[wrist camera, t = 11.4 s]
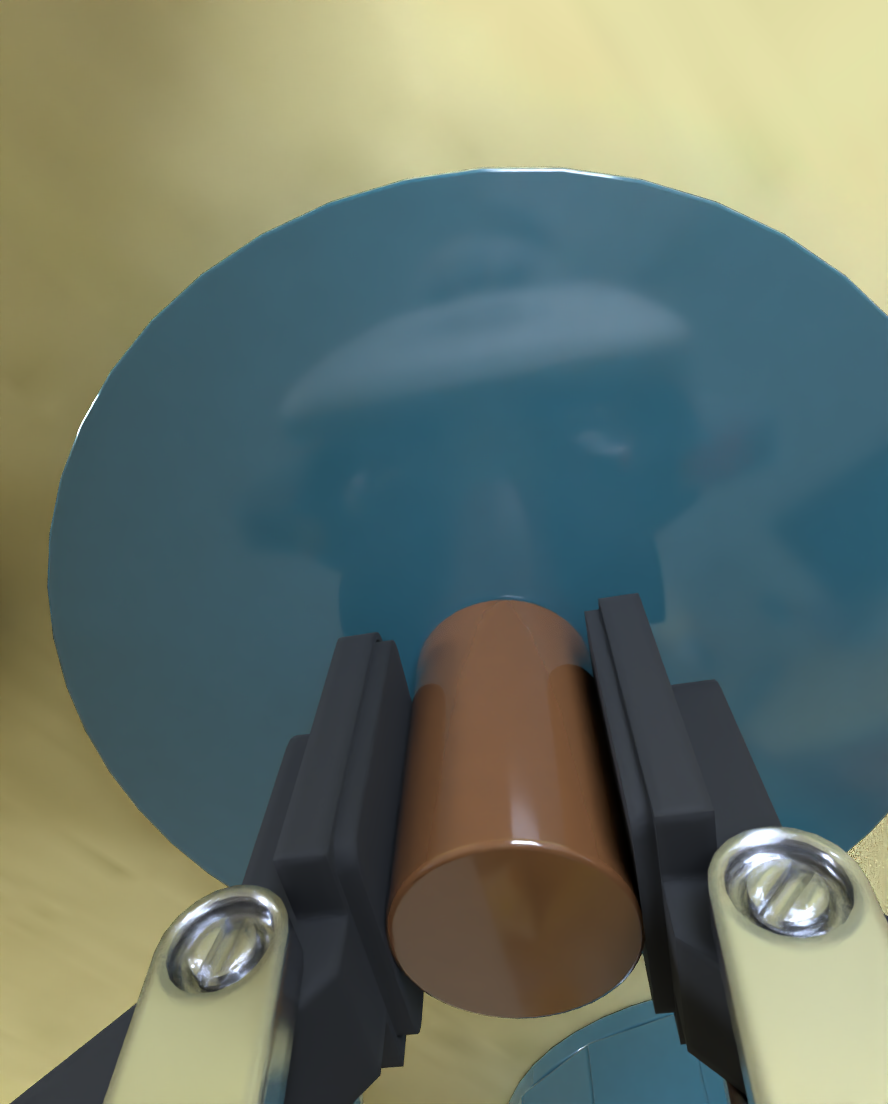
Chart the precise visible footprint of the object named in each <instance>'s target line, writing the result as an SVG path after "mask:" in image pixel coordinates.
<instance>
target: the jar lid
mask: <svg viewBox="0 0 888 1104" xmlns="http://www.w3.org/2000/svg"><path fill="white" fill-rule="evenodd" d="M47 588H48V596H49V605H50V614H51V622H52V631H53V639H54V642H55V646H56V650H57V654H58V657H59V661H60V665H61V669H62V672H63V676H64V680H65V683H66V687H67V689H68V691H69V694H70V696H71V699H72V701H73V703H74V706H75V708H76V710H77V713H78V715H79V717H80V720H81V722H82V724H83V727H84V729H85V731H86V733H87V735H88V736H89V738H90V740H91V742H92V743H93V745H94V747H95V748H96V750H97V752H98V753H99V755H100V757H101V758H102V760H103V762H104V764H105V765H106V767H107V769H108V770H109V772H110V773H111V775H112V776H113V777H114V779H115V780H116V781H117V782H118V784H119V785H120V786H121V788H122V789H123V790H124V792H125V793H126V794H127V795H128V797H129V798H130V799H131V801H132V802H133V803H134V804H135V806H136V807H137V808H138V810H139V811H140V812H141V813H142V814H143V815H144V816H145V817H146V818H147V819H148V820H149V821H150V822H151V823H152V824H153V825H154V826H155V827H156V828H157V829H158V830H159V831H160V832H161V833H162V834H163V835H164V836H165V837H166V838H167V839H168V840H169V841H170V842H171V843H172V844H173V845H174V846H175V847H176V848H178V849H179V850H180V851H181V852H183V853H184V854H185V855H186V856H187V857H189V858H190V859H191V860H192V861H193V862H195V863H196V864H197V865H198V866H200V867H201V868H202V869H203V870H204V871H206V872H207V873H208V874H210V875H211V876H213V877H214V878H216V879H217V880H219V881H220V882H222V883H223V884H225V885H226V886H228V887H231V886H235V885H242V882H243V879H244V876H245V873H246V870H247V867H248V864H249V861H250V858H251V855H252V852H253V848H254V845H255V842H256V839H257V836H258V833H259V830H260V827H261V824H262V821H263V818H264V815H265V812H266V809H267V806H268V802H269V799H270V796H271V793H272V790H273V787H274V784H275V781H276V778H277V775H278V772H279V769H280V766H281V763H282V760H283V756H284V753H285V750H286V747H287V745H288V743H289V741H290V739H291V738H293V737H294V736H296V735H304V734H310V732H311V728H312V725H313V721H314V718H315V715H316V711H317V708H318V704H319V701H320V698H321V694H322V691H323V687H324V684H325V681H326V677H327V674H328V670H329V667H330V664H331V660H332V657H333V653H334V650H335V647H336V643H337V641H338V639H339V638H341V637H346V636H353V635H360V634H366V633H373V632H378V633H379V634H380V636H381V638H382V640H383V641H388V640H394V641H395V643H396V646H397V649H398V652H399V656H400V660H401V663H402V667H403V671H404V674H405V678H406V682H407V686H408V689H409V693H410V697H411V700H412V710H411V718H410V726H409V734H408V742H407V750H406V758H405V766H404V774H403V782H402V790H401V798H400V806H399V814H398V822H397V830H396V838H395V846H394V854H393V862H392V870H391V877H390V885H389V893H388V901H387V909H386V917H385V931H386V937H387V941H388V945H389V948H390V951H391V954H392V956H393V958H394V960H395V962H396V963H397V965H398V966H399V968H400V970H401V971H402V972H403V973H404V974H405V975H406V977H407V978H408V979H409V980H410V981H411V982H412V983H414V984H415V985H416V986H417V987H418V988H419V989H421V990H422V991H424V992H425V993H427V994H428V995H430V996H431V997H433V998H435V999H437V1000H439V1001H441V1002H443V1003H445V1004H447V1005H450V1006H452V1007H455V1008H457V1009H460V1010H464V1011H467V1012H470V1013H474V1014H479V1015H484V1016H490V1017H498V1018H515V1019H521V1018H538V1017H546V1016H552V1015H557V1014H561V1013H565V1012H569V1011H572V1010H575V1009H578V1008H581V1007H583V1006H586V1005H588V1004H590V1003H593V1002H595V1001H596V1000H598V999H600V998H602V997H604V996H605V995H607V994H608V993H610V992H611V991H612V990H614V989H615V988H616V987H618V986H619V985H620V984H621V983H622V982H623V981H624V980H625V979H626V978H627V977H628V976H629V974H630V973H631V972H632V971H633V969H634V968H635V966H636V964H637V963H638V961H639V959H640V956H641V954H643V948H644V945H645V932H644V925H643V917H642V910H641V904H640V898H639V893H638V888H637V884H636V879H635V874H634V869H633V864H632V860H631V855H630V850H629V845H628V841H627V836H626V831H625V826H624V821H623V817H622V812H621V807H620V802H619V797H618V793H617V788H616V783H615V778H614V773H613V769H612V764H611V759H610V754H609V750H608V745H607V740H606V735H605V730H604V726H603V721H602V716H601V711H600V706H599V702H598V697H597V692H596V687H595V682H594V678H593V671H592V664H591V657H590V650H589V643H588V636H587V629H586V622H585V614H584V611H590V610H596V609H599V606H598V599H599V598H606V597H613V596H619V595H626V594H633V593H638V594H639V596H640V598H641V601H642V604H643V607H644V610H645V613H646V616H647V618H648V621H649V624H650V627H651V630H652V633H653V636H654V638H655V641H656V644H657V647H658V650H659V653H660V656H661V659H662V661H663V664H664V667H665V670H666V673H667V676H668V679H669V681H670V684H671V685H675V684H682V683H690V682H697V681H704V680H712V679H715V680H716V681H717V682H718V683H719V685H720V687H721V689H722V691H723V693H724V696H725V698H726V700H727V703H728V705H729V707H730V709H731V712H732V714H733V716H734V718H735V721H736V723H737V725H738V727H739V730H740V732H741V734H742V737H743V739H744V741H745V743H746V746H747V748H748V750H749V752H750V755H751V757H752V759H753V762H754V764H755V766H756V768H757V771H758V773H759V775H760V777H761V780H762V782H763V784H764V787H765V789H766V791H767V793H768V796H769V798H770V800H771V802H772V805H773V807H774V809H775V811H776V814H777V816H778V818H779V821H780V823H781V825H782V827H790V828H795V829H799V830H803V831H806V832H810V833H814V834H817V835H819V836H821V837H822V838H824V839H826V840H828V841H830V842H832V843H834V844H836V845H838V846H839V847H840V848H841V849H843V850H844V851H845V852H846V853H847V852H848V851H849V850H850V849H852V848H853V847H854V846H855V845H856V844H857V843H858V842H860V841H861V840H862V839H863V838H864V837H865V836H867V835H868V834H869V833H870V832H871V831H872V830H873V829H874V828H875V827H876V826H877V825H878V824H879V823H880V821H881V820H882V819H883V818H884V817H885V816H886V815H887V814H888V315H886V314H885V313H884V312H883V311H882V310H881V309H880V308H879V307H878V306H877V305H876V304H875V303H874V302H873V301H872V300H871V299H870V298H869V297H868V296H867V295H866V294H864V293H863V292H862V291H861V290H860V289H859V288H858V287H857V286H856V285H855V284H854V283H853V282H852V281H851V280H850V279H849V278H848V277H847V276H846V275H844V274H843V273H841V272H840V271H838V270H837V269H835V268H834V267H832V266H831V265H830V264H828V263H827V262H825V261H824V260H822V259H821V258H819V257H818V256H816V255H815V254H813V253H812V252H811V251H809V250H808V249H806V248H805V247H803V246H802V245H800V244H799V243H797V242H796V241H794V240H793V239H791V238H790V237H789V236H787V235H786V234H784V233H782V232H780V231H777V230H775V229H773V228H771V227H769V226H767V225H765V224H763V223H761V222H758V221H756V220H754V219H752V218H750V217H748V216H746V215H744V214H742V213H739V212H737V211H735V210H733V209H731V208H729V207H727V206H725V205H723V204H720V203H718V202H716V201H713V200H709V199H706V198H703V197H699V196H696V195H693V194H689V193H686V192H683V191H679V190H676V189H673V188H669V187H666V186H663V185H659V184H656V183H653V182H649V181H646V180H643V179H638V178H633V177H626V176H619V175H612V174H605V173H598V172H591V171H584V170H577V169H570V168H563V167H480V168H473V169H466V170H459V171H453V172H446V173H439V174H433V175H426V176H419V177H412V178H407V179H403V180H400V181H397V182H393V183H390V184H387V185H383V186H380V187H377V188H373V189H370V190H367V191H363V192H360V193H357V194H353V195H350V196H347V197H343V198H340V199H337V200H334V201H331V202H329V203H326V204H324V205H322V206H320V207H318V208H316V209H314V210H312V211H309V212H307V213H305V214H303V215H301V216H299V217H297V218H294V219H292V220H290V221H288V222H286V223H284V224H282V225H280V226H277V227H275V228H273V229H271V230H269V231H267V232H265V233H262V234H261V235H259V236H258V237H256V238H255V239H253V240H252V241H250V242H249V243H247V244H246V245H244V246H243V247H241V248H240V249H238V250H237V251H235V252H234V253H232V254H231V255H229V256H228V257H226V258H225V259H223V260H222V261H220V262H219V263H217V264H216V265H214V266H213V267H211V268H210V269H208V270H207V271H205V272H204V273H202V274H201V275H200V276H199V277H198V278H197V279H195V280H194V281H193V282H192V283H191V284H190V285H189V286H188V287H187V288H186V289H185V290H183V291H182V292H181V293H180V294H179V295H178V296H177V297H176V298H175V299H174V300H172V301H171V302H170V303H169V304H168V305H167V306H166V307H165V308H164V309H163V310H162V311H160V312H159V313H158V314H157V315H156V316H155V317H154V318H153V319H152V320H151V321H150V322H149V323H148V325H147V326H146V327H145V328H144V330H143V331H142V332H141V333H140V335H139V336H138V337H137V338H136V340H135V341H134V342H133V343H132V345H131V346H130V347H129V348H128V350H127V351H126V352H125V353H124V355H123V356H122V357H121V358H120V360H119V361H118V362H117V363H116V365H115V366H114V367H113V368H112V370H111V371H110V373H109V375H108V376H107V378H106V380H105V382H104V383H103V385H102V387H101V389H100V390H99V392H98V394H97V396H96V397H95V399H94V401H93V403H92V405H91V406H90V408H89V410H88V412H87V413H86V415H85V417H84V419H83V420H82V422H81V424H80V427H79V429H78V432H77V435H76V438H75V440H74V443H73V446H72V448H71V451H70V454H69V456H68V459H67V462H66V464H65V467H64V470H63V473H62V475H61V478H60V483H59V488H58V493H57V498H56V503H55V508H54V513H53V518H52V523H51V528H50V534H49V559H48V585H47Z"/></svg>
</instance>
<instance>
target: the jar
mask: <svg viewBox="0 0 888 1104" xmlns="http://www.w3.org/2000/svg"><path fill="white" fill-rule="evenodd" d="M509 1104H727V1101H726V1096H725V1090H724V1085H723V1078H722V1077H721V1076H720V1075H718V1074H717V1073H716V1072H714V1071H713V1070H712V1069H710V1068H709V1067H708V1066H706V1065H705V1064H704V1063H702V1062H701V1061H700V1060H698V1059H697V1058H696V1057H694V1056H693V1055H692V1054H690V1053H689V1052H688V1051H687V1046H686V1044H682V1045H680V1040H679V1035H678V1031H677V1026H676V1022H675V1017H674V1013H661V1014H655V1011H654V1006H653V1001H652V1000H649V1001H646V1002H642V1003H639V1004H636V1005H632V1006H630V1007H627V1008H625V1009H622V1010H620V1011H617V1012H615V1013H613V1014H610V1015H608V1016H605V1017H603V1018H601V1019H599V1020H597V1021H595V1022H593V1023H591V1024H589V1025H587V1026H585V1027H584V1028H582V1029H580V1030H578V1031H576V1032H574V1033H573V1034H571V1035H570V1036H569V1037H567V1038H566V1039H564V1040H563V1041H561V1042H560V1043H558V1044H557V1045H555V1046H554V1047H553V1048H551V1049H550V1050H549V1051H548V1052H547V1053H546V1054H545V1055H544V1056H543V1057H541V1058H540V1059H539V1060H538V1061H537V1062H536V1063H535V1064H534V1065H533V1066H532V1067H531V1068H530V1070H529V1071H528V1072H527V1073H526V1075H525V1076H524V1077H523V1078H522V1080H521V1081H520V1082H519V1084H518V1086H517V1088H516V1090H515V1091H514V1093H513V1095H512V1097H511V1099H510V1101H509Z"/></svg>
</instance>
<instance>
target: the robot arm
mask: <svg viewBox="0 0 888 1104" xmlns="http://www.w3.org/2000/svg"><path fill="white" fill-rule="evenodd" d="M598 606H599V609H596V610H590V611H584V614H585V622H586V629H587V636H588V643H589V650H590V657H591V664H592V671H593V678H594V682H595V687H596V692H597V697H598V702H599V706H600V711H601V716H602V721H603V726H604V730H605V735H606V740H607V745H608V750H609V754H610V759H611V764H612V769H613V773H614V778H615V783H616V788H617V793H618V797H619V802H620V807H621V812H622V817H623V821H624V826H625V831H626V836H627V841H628V845H629V850H630V855H631V860H632V864H633V869H634V874H635V879H636V884H637V888H638V893H639V898H640V904H641V910H642V917H643V925H644V932H645V945H644V948H643V956H644V961H645V966H646V971H647V976H648V981H649V986H650V991H651V996H652V1001H653V1006H654V1011H655V1014H661V1013H674V1017H675V1022H676V1026H677V1031H678V1035H679V1040H680V1045H682V1044H686V1046H687V1051H688V1052H689V1053H690V1054H692V1055H693V1056H694V1057H696V1058H697V1059H698V1060H700V1061H701V1062H702V1063H704V1064H705V1065H706V1066H708V1067H709V1068H710V1069H712V1070H713V1071H714V1072H716V1073H717V1074H718V1075H720V1076H721V1077H722V1078H723V1085H724V1090H725V1096H726V1101H727V1104H888V916H887V915H885V914H883V911H882V909H881V907H880V905H879V902H878V900H877V898H876V895H875V893H874V891H873V889H872V886H871V884H870V882H869V880H868V878H867V877H866V875H865V874H864V872H863V871H862V869H861V868H860V866H859V865H858V863H857V862H856V861H855V860H854V859H853V858H852V857H851V856H850V855H848V854H847V853H846V852H845V851H844V850H843V849H841V848H840V847H839V846H838V845H836V844H834V843H832V842H830V841H828V840H826V839H824V838H822V837H821V836H819V835H817V834H814V833H810V832H806V831H803V830H799V829H795V828H790V827H782V825H781V823H780V821H779V818H778V816H777V814H776V811H775V809H774V807H773V805H772V802H771V800H770V798H769V796H768V793H767V791H766V789H765V787H764V784H763V782H762V780H761V777H760V775H759V773H758V771H757V768H756V766H755V764H754V762H753V759H752V757H751V755H750V752H749V750H748V748H747V746H746V743H745V741H744V739H743V737H742V734H741V732H740V730H739V727H738V725H737V723H736V721H735V718H734V716H733V714H732V712H731V709H730V707H729V705H728V703H727V700H726V698H725V696H724V693H723V691H722V689H721V687H720V685H719V683H718V682H717V681H716V680H715V679H712V680H704V681H697V682H690V683H682V684H675V685H671V684H670V681H669V679H668V676H667V673H666V670H665V667H664V664H663V661H662V659H661V656H660V653H659V650H658V647H657V644H656V641H655V638H654V636H653V633H652V630H651V627H650V624H649V621H648V618H647V616H646V613H645V610H644V607H643V604H642V601H641V598H640V596H639V594H638V593H633V594H626V595H619V596H613V597H606V598H599V599H598ZM411 710H412V700H411V697H410V693H409V689H408V686H407V682H406V678H405V674H404V671H403V667H402V663H401V660H400V656H399V652H398V649H397V646H396V643H395V641H394V640H388V641H383V640H382V638H381V636H380V634H379V633H378V632H373V633H366V634H360V635H353V636H346V637H341V638H339V639H338V641H337V643H336V647H335V650H334V653H333V657H332V660H331V664H330V667H329V670H328V674H327V677H326V681H325V684H324V687H323V691H322V694H321V698H320V701H319V704H318V708H317V711H316V715H315V718H314V721H313V725H312V728H311V732H310V734H304V735H296V736H294V737H293V738H291V739H290V741H289V743H288V745H287V747H286V750H285V753H284V756H283V760H282V763H281V766H280V769H279V772H278V775H277V778H276V781H275V784H274V787H273V790H272V793H271V796H270V799H269V802H268V806H267V809H266V812H265V815H264V818H263V821H262V824H261V827H260V830H259V833H258V836H257V839H256V842H255V845H254V848H253V852H252V855H251V858H250V861H249V864H248V867H247V870H246V873H245V876H244V879H243V882H242V885H235V886H231V887H228V888H224V889H221V890H217V891H215V892H213V893H211V894H209V895H207V896H205V897H203V898H202V899H200V900H198V901H196V902H195V903H194V904H192V905H191V906H190V907H189V908H187V909H186V910H185V911H184V912H182V913H181V914H180V915H179V916H178V917H177V918H176V919H175V920H174V922H173V923H172V924H171V925H170V927H169V928H168V929H167V930H166V931H165V933H164V934H163V936H162V938H161V940H160V942H159V944H158V946H157V948H156V950H155V952H154V955H153V958H152V961H151V964H150V966H149V969H148V972H147V975H146V978H145V981H144V984H143V987H142V990H141V993H140V996H139V999H138V1002H137V1003H136V1004H135V1005H134V1006H132V1007H131V1008H130V1009H129V1010H127V1011H126V1012H125V1013H124V1014H122V1015H121V1016H120V1017H119V1018H117V1019H116V1020H115V1021H114V1022H112V1023H111V1024H110V1025H108V1026H107V1027H106V1028H105V1029H103V1030H102V1031H101V1032H100V1033H98V1034H97V1035H96V1036H95V1037H93V1038H92V1039H91V1040H90V1041H88V1042H87V1043H86V1044H85V1045H83V1046H82V1047H81V1048H79V1049H78V1050H77V1051H76V1052H74V1053H73V1054H72V1055H71V1056H69V1057H68V1058H67V1059H66V1060H64V1061H63V1062H62V1063H61V1064H59V1065H58V1066H57V1067H55V1068H54V1069H53V1070H52V1071H50V1072H49V1073H48V1074H47V1075H45V1076H44V1077H43V1078H42V1079H40V1080H39V1081H38V1082H37V1083H35V1084H34V1085H33V1086H31V1087H30V1088H29V1089H28V1090H26V1091H25V1092H24V1093H23V1094H21V1095H20V1096H19V1097H18V1098H16V1099H15V1100H14V1101H13V1102H11V1103H10V1104H363V1092H364V1091H365V1090H366V1089H367V1088H368V1087H369V1086H370V1085H371V1084H372V1083H373V1082H374V1081H375V1080H376V1079H377V1078H378V1077H379V1076H380V1074H381V1068H388V1067H401V1066H403V1065H404V1054H405V1042H406V1035H410V1034H418V1033H419V1032H420V1028H421V1021H422V1008H423V994H424V991H422V990H421V989H419V988H418V987H417V986H416V985H415V984H414V983H412V982H411V981H410V980H409V979H408V978H407V977H406V975H405V974H404V973H403V972H402V971H401V970H400V968H399V966H398V965H397V963H396V962H395V960H394V958H393V956H392V954H391V951H390V948H389V945H388V941H387V937H386V931H385V917H386V909H387V901H388V893H389V885H390V877H391V870H392V862H393V854H394V846H395V838H396V830H397V822H398V814H399V806H400V798H401V790H402V782H403V774H404V766H405V758H406V750H407V742H408V734H409V726H410V718H411Z"/></svg>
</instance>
